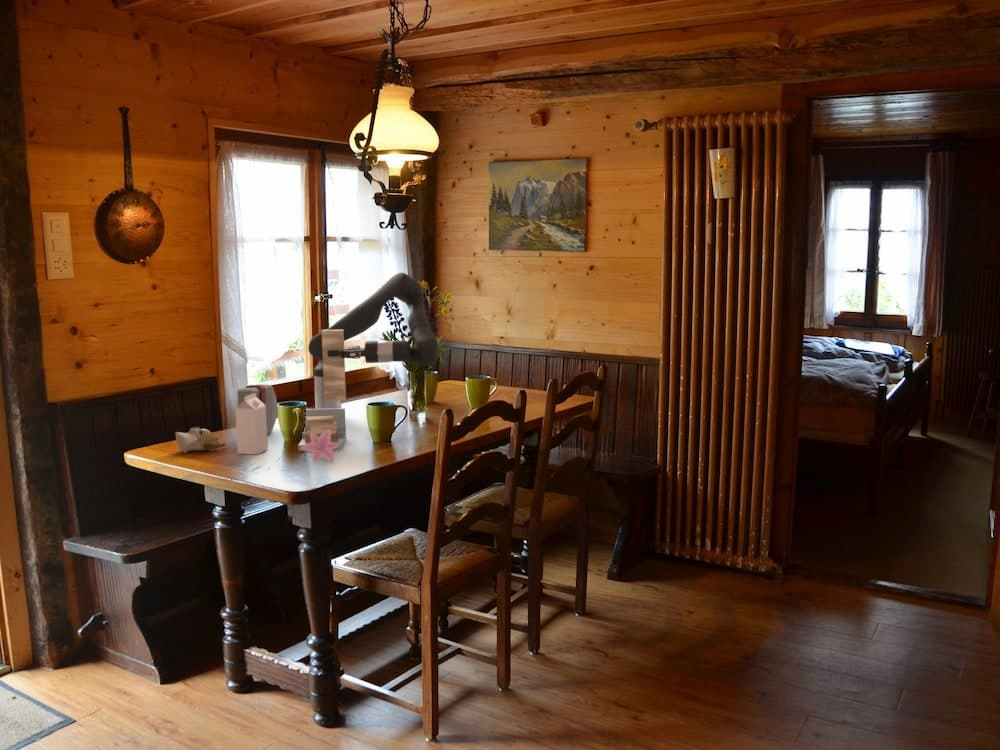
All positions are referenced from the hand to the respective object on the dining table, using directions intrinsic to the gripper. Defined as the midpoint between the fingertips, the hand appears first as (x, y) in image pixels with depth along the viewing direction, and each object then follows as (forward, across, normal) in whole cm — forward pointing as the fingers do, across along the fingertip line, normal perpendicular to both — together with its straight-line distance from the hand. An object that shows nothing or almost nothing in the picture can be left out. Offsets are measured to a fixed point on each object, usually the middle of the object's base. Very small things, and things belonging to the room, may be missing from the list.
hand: (328, 353), depth 296 cm
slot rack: (+3, +3, +31) cm, 31 cm away
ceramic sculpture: (+43, +7, +31) cm, 53 cm away
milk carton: (+25, +11, +31) cm, 41 cm away
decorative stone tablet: (+27, -10, +31) cm, 42 cm away
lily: (+1, +24, +31) cm, 39 cm away
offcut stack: (+3, +6, +29) cm, 30 cm away
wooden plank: (-2, 0, +16) cm, 16 cm away
